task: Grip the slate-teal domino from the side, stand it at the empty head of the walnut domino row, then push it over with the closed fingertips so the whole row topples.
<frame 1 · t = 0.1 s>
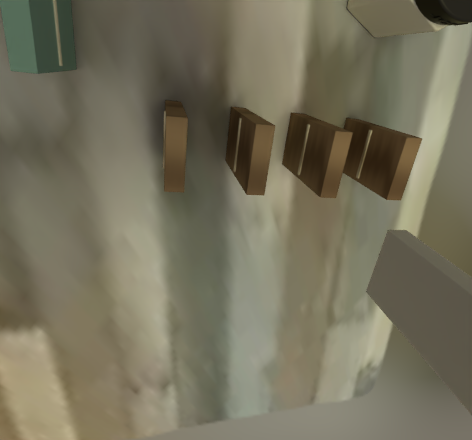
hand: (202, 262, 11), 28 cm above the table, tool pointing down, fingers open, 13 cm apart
domino 3: (235, 135, 37), on the table
domino 5: (345, 143, 40), on the table
domino teal: (64, 32, 30), on the table
domino 2: (172, 130, 36), on the table
domino 4: (292, 139, 39), on the table
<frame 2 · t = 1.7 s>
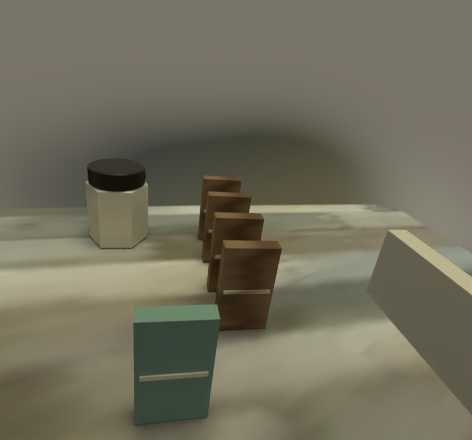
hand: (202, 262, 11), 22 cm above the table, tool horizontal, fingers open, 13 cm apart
domino 3: (229, 287, 45), on the table
jar: (119, 237, 54), on the table
domino 5: (215, 238, 57), on the table
domino teal: (171, 412, 28), on the table
domino 2: (239, 324, 39), on the table
domino 4: (221, 260, 51), on the table
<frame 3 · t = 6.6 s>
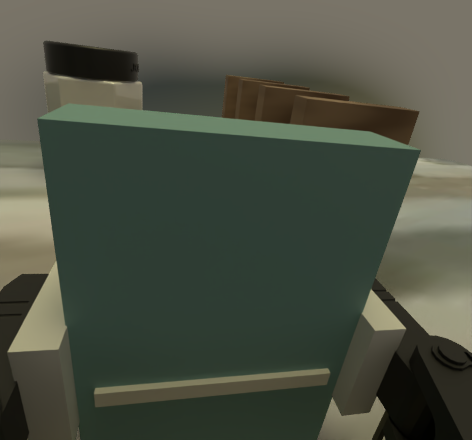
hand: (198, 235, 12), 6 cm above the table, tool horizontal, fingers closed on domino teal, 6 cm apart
domino 3: (277, 232, 27), on the table
jar: (100, 171, 36), on the table
domino 5: (242, 177, 39), on the table
domino 2: (309, 283, 21), on the table
domino 4: (256, 199, 33), on the table
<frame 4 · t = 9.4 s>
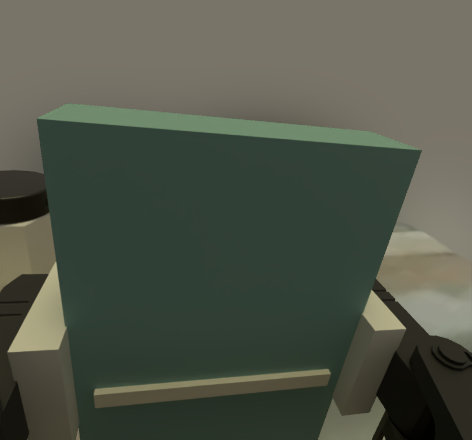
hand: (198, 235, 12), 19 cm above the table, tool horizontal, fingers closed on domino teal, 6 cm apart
jar: (25, 285, 37), on the table
when the fingers open (7 cm above the table, at t = 12.4 s): domino teal stays where it is, on the table.
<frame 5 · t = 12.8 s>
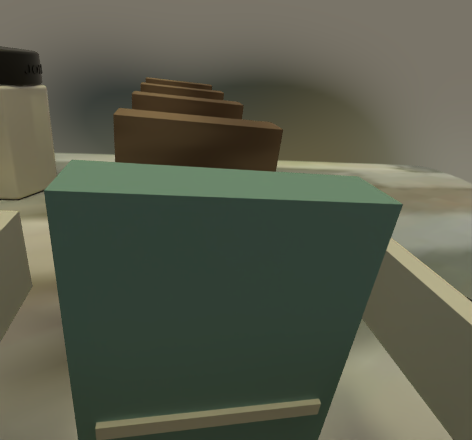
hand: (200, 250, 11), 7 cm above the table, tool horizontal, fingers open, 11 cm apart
domino 3: (179, 263, 23), on the table
jar: (7, 186, 32), on the table
domino 5: (174, 191, 35), on the table
domino 2: (185, 337, 17), on the table
domino 4: (176, 219, 29), on the table
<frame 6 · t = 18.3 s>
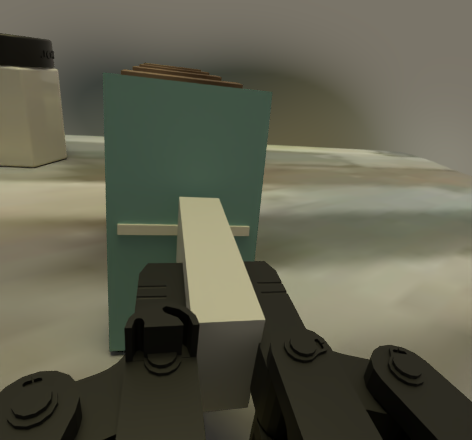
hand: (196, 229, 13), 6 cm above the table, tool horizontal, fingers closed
domino 3: (172, 213, 28), on the table
jar: (23, 158, 37), on the table
domino teal: (179, 335, 15), on the table, tilted 10°, touching gripper
domino 2: (175, 257, 22), on the table
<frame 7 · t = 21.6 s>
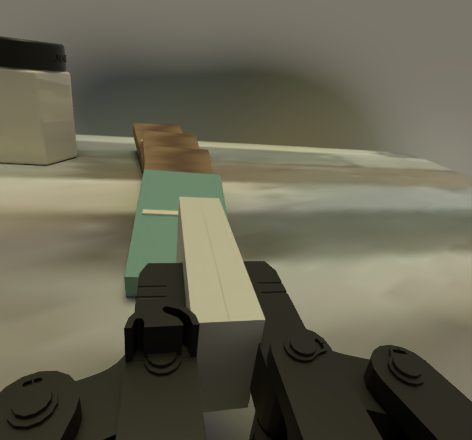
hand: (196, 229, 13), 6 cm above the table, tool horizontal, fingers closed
domino 3: (178, 193, 31), point 1 cm above the table, tilted 76°, touching domino 2, domino 4
jar: (35, 156, 38), on the table
domino teal: (181, 287, 18), point 1 cm above the table, tilted 77°, touching domino 2
domino 2: (181, 227, 25), point 1 cm above the table, tilted 76°, touching domino 3, domino teal
domino 4: (171, 169, 37), point 1 cm above the table, tilted 79°, touching domino 3
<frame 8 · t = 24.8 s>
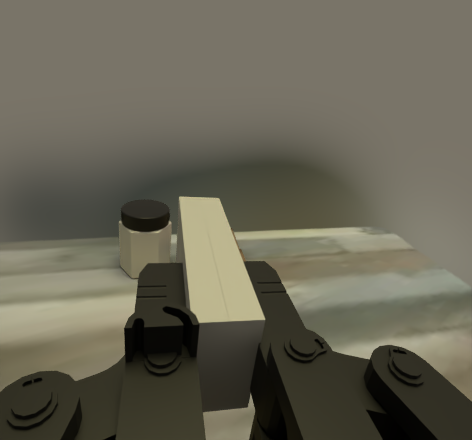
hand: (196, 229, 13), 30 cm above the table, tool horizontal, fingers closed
jar: (145, 267, 62), on the table
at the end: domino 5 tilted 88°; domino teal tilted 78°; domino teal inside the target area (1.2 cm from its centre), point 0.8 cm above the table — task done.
